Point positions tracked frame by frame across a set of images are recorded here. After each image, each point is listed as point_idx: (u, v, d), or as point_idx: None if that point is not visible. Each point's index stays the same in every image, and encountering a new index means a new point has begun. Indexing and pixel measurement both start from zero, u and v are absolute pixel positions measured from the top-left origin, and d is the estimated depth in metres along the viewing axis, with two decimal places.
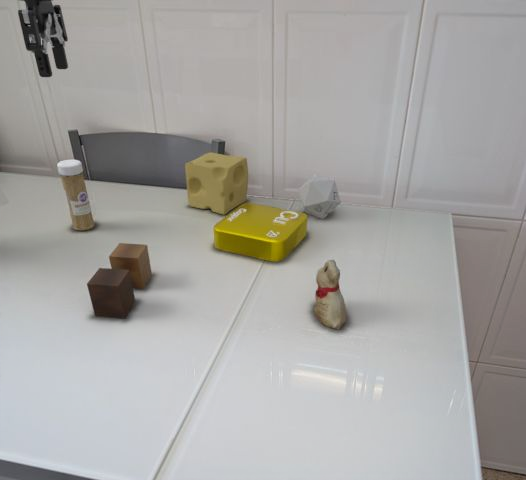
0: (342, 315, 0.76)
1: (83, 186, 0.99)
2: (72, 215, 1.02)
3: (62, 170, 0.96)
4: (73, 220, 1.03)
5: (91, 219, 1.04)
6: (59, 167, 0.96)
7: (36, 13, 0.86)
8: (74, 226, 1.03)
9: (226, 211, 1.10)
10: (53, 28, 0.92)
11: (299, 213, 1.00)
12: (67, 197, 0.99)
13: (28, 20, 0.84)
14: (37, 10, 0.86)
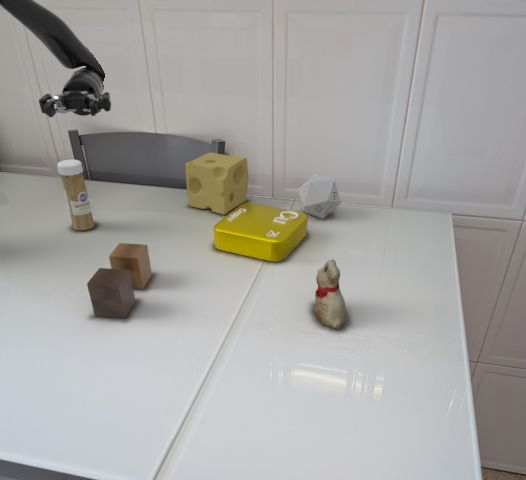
0: (342, 315, 0.76)
1: (83, 186, 0.99)
2: (72, 215, 1.02)
3: (62, 170, 0.96)
4: (73, 220, 1.03)
5: (91, 219, 1.04)
6: (59, 167, 0.96)
7: None
8: (74, 226, 1.03)
9: (226, 211, 1.10)
10: None
11: (299, 213, 1.00)
12: (67, 197, 0.99)
13: (110, 101, 1.09)
14: None
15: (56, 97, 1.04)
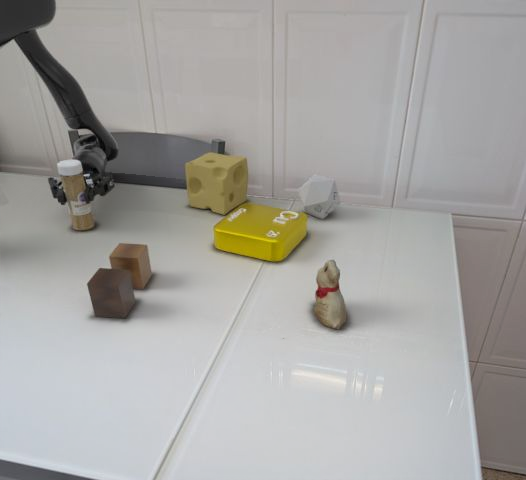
0: (342, 315, 0.76)
1: (83, 186, 0.99)
2: (72, 215, 1.02)
3: (62, 170, 0.96)
4: (73, 220, 1.03)
5: (91, 219, 1.04)
6: (59, 167, 0.96)
7: None
8: (74, 226, 1.03)
9: (226, 211, 1.10)
10: None
11: (299, 213, 1.00)
12: (67, 197, 0.99)
13: (111, 184, 1.06)
14: None
15: None
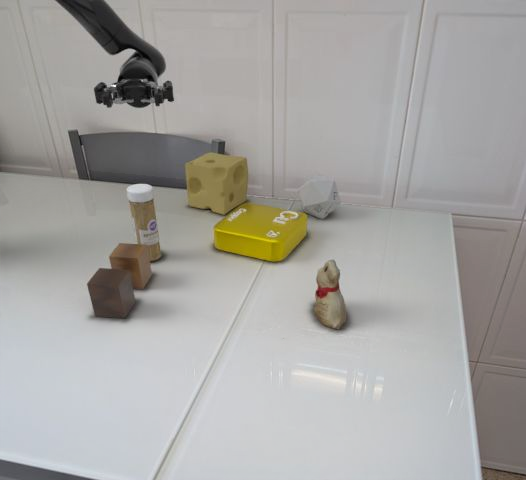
0: (342, 315, 0.76)
1: (153, 213, 0.89)
2: None
3: (133, 197, 0.85)
4: None
5: (159, 248, 0.93)
6: (129, 193, 0.85)
7: None
8: None
9: (226, 211, 1.10)
10: None
11: (299, 213, 1.00)
12: (135, 225, 0.89)
13: None
14: None
15: (113, 85, 0.91)
